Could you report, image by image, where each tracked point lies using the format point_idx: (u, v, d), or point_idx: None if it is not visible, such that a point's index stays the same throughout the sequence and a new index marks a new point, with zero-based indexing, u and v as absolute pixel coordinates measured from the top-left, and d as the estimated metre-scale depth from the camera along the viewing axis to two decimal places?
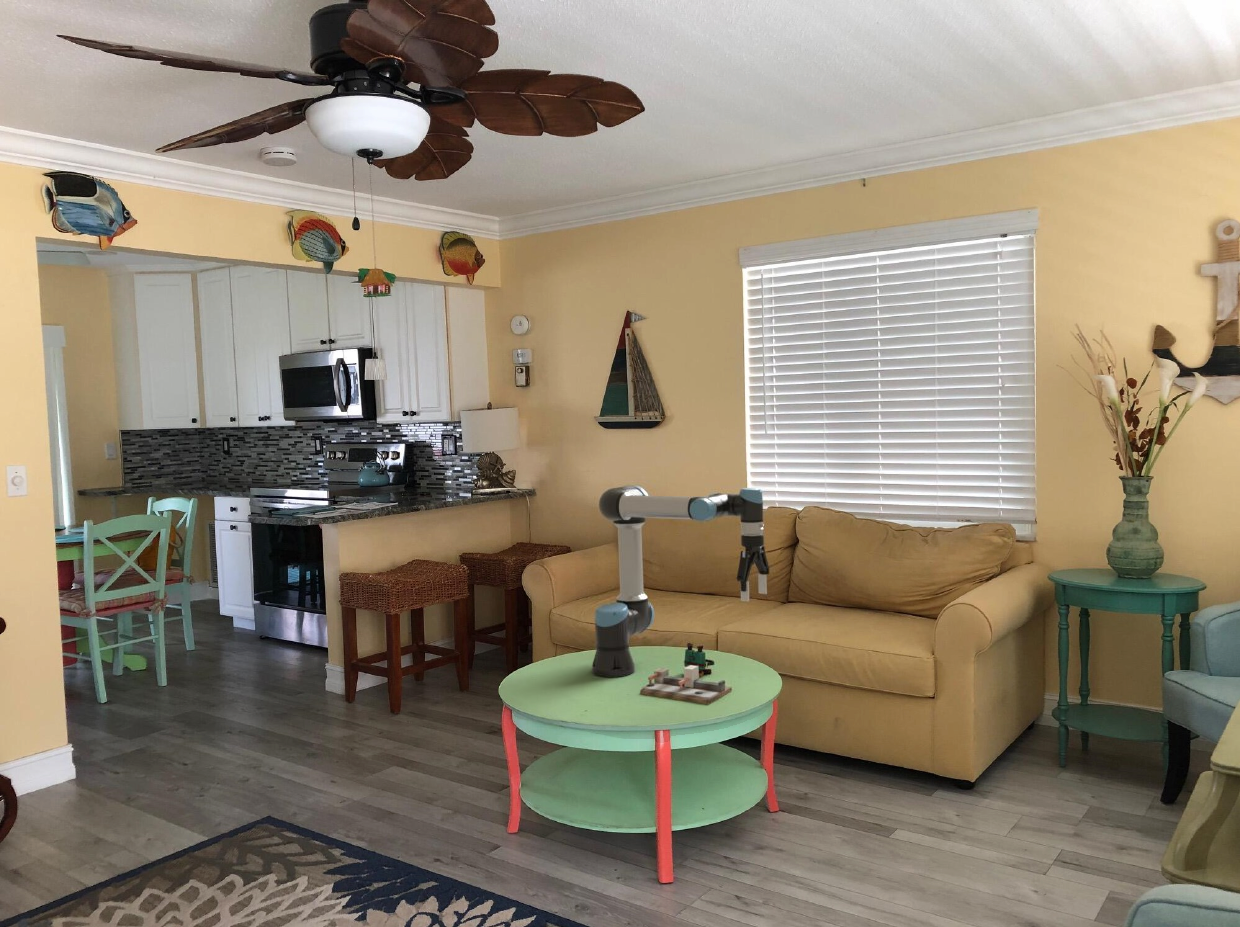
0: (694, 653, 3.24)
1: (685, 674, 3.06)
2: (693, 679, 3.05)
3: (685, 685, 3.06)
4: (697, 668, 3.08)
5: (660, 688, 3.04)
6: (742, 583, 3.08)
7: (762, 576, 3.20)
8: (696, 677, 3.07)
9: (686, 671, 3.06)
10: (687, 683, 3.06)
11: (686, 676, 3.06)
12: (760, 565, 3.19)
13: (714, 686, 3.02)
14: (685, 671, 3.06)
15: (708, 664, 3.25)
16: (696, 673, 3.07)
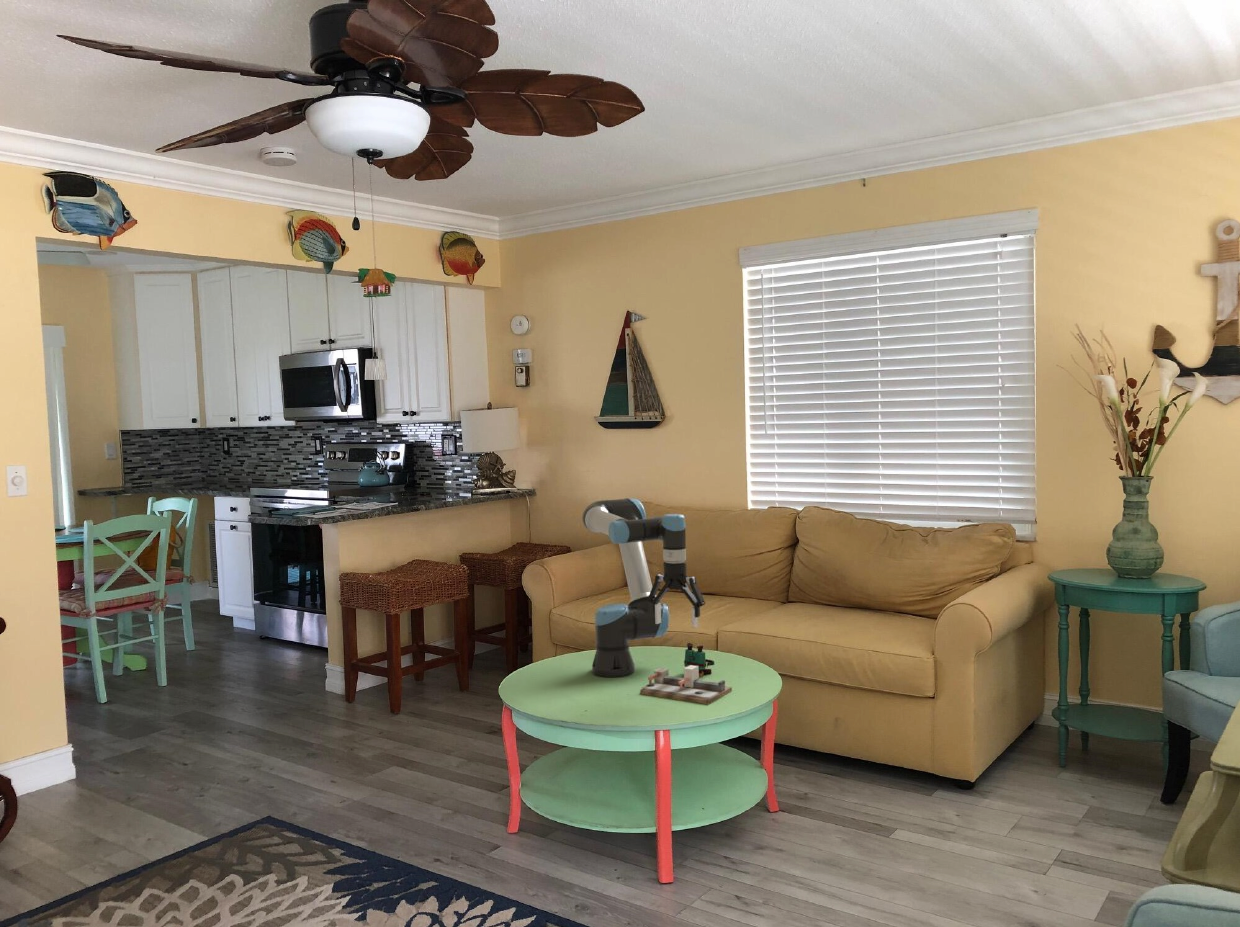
0: (694, 653, 3.24)
1: (685, 674, 3.06)
2: (693, 679, 3.05)
3: (685, 685, 3.06)
4: (697, 668, 3.08)
5: (660, 688, 3.04)
6: None
7: None
8: (696, 677, 3.07)
9: (686, 671, 3.06)
10: (687, 683, 3.06)
11: (686, 676, 3.06)
12: None
13: (714, 686, 3.02)
14: (685, 671, 3.06)
15: (708, 664, 3.25)
16: (696, 673, 3.07)
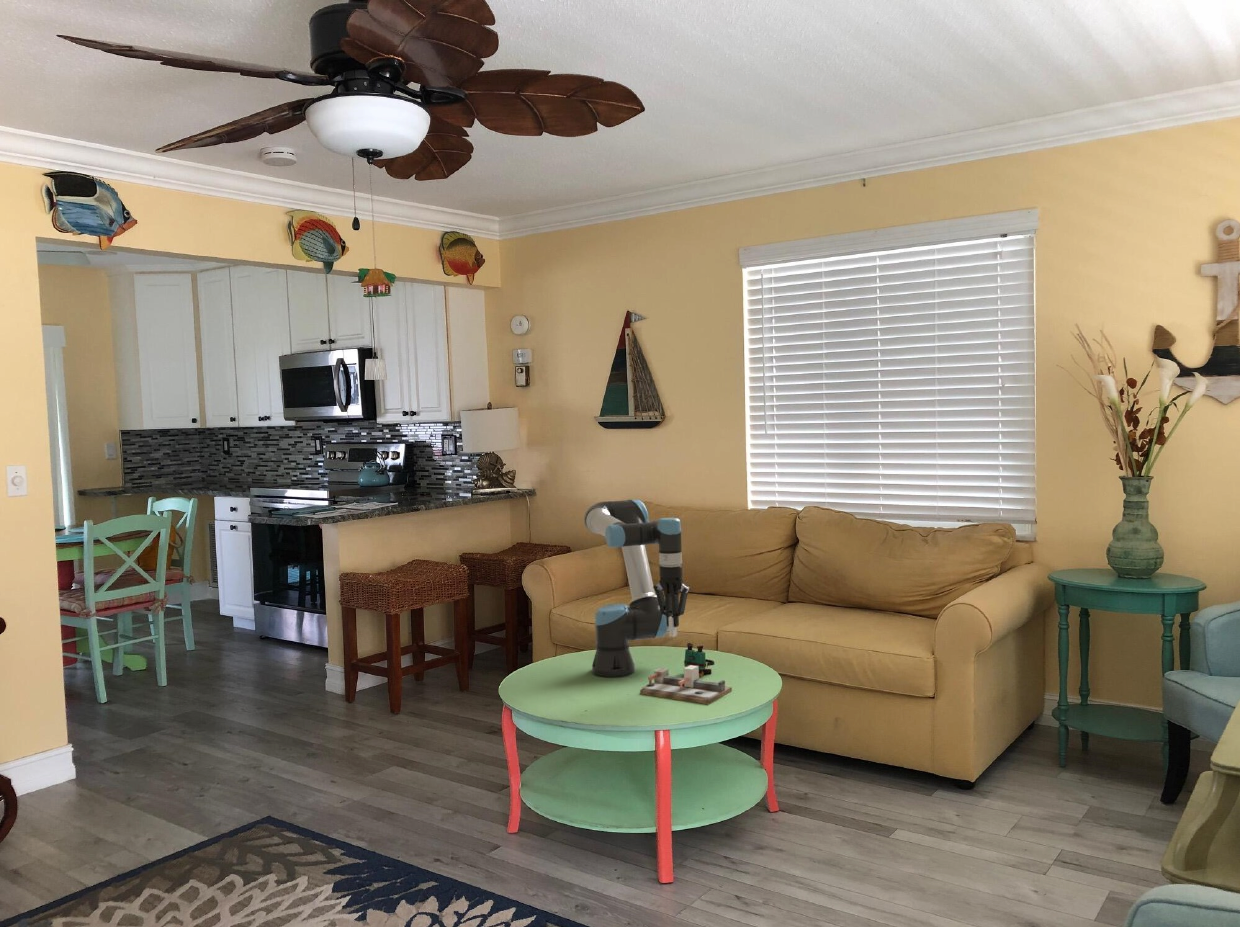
0: (694, 653, 3.24)
1: (685, 674, 3.06)
2: (693, 679, 3.05)
3: (685, 685, 3.06)
4: (697, 668, 3.08)
5: (660, 688, 3.04)
6: None
7: None
8: (696, 677, 3.07)
9: (686, 671, 3.06)
10: (687, 683, 3.06)
11: (686, 676, 3.06)
12: None
13: (714, 686, 3.02)
14: (685, 671, 3.06)
15: (708, 664, 3.25)
16: (696, 673, 3.07)
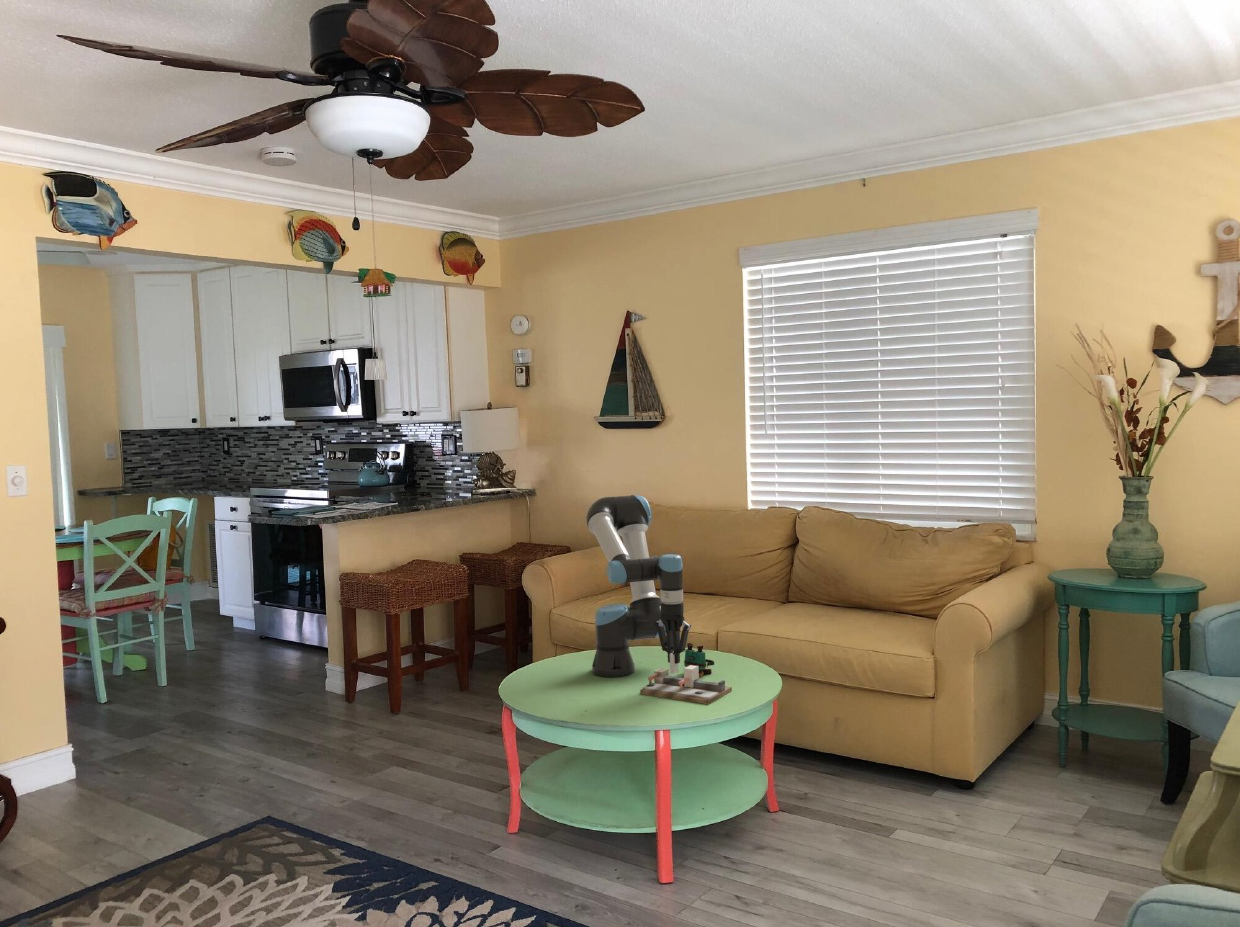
0: (694, 653, 3.24)
1: (685, 674, 3.06)
2: (693, 679, 3.05)
3: (685, 685, 3.06)
4: (697, 668, 3.08)
5: (660, 688, 3.04)
6: None
7: None
8: (696, 677, 3.07)
9: (686, 671, 3.06)
10: (687, 683, 3.06)
11: (686, 676, 3.06)
12: None
13: (714, 686, 3.02)
14: (685, 671, 3.06)
15: (708, 664, 3.25)
16: (696, 673, 3.07)
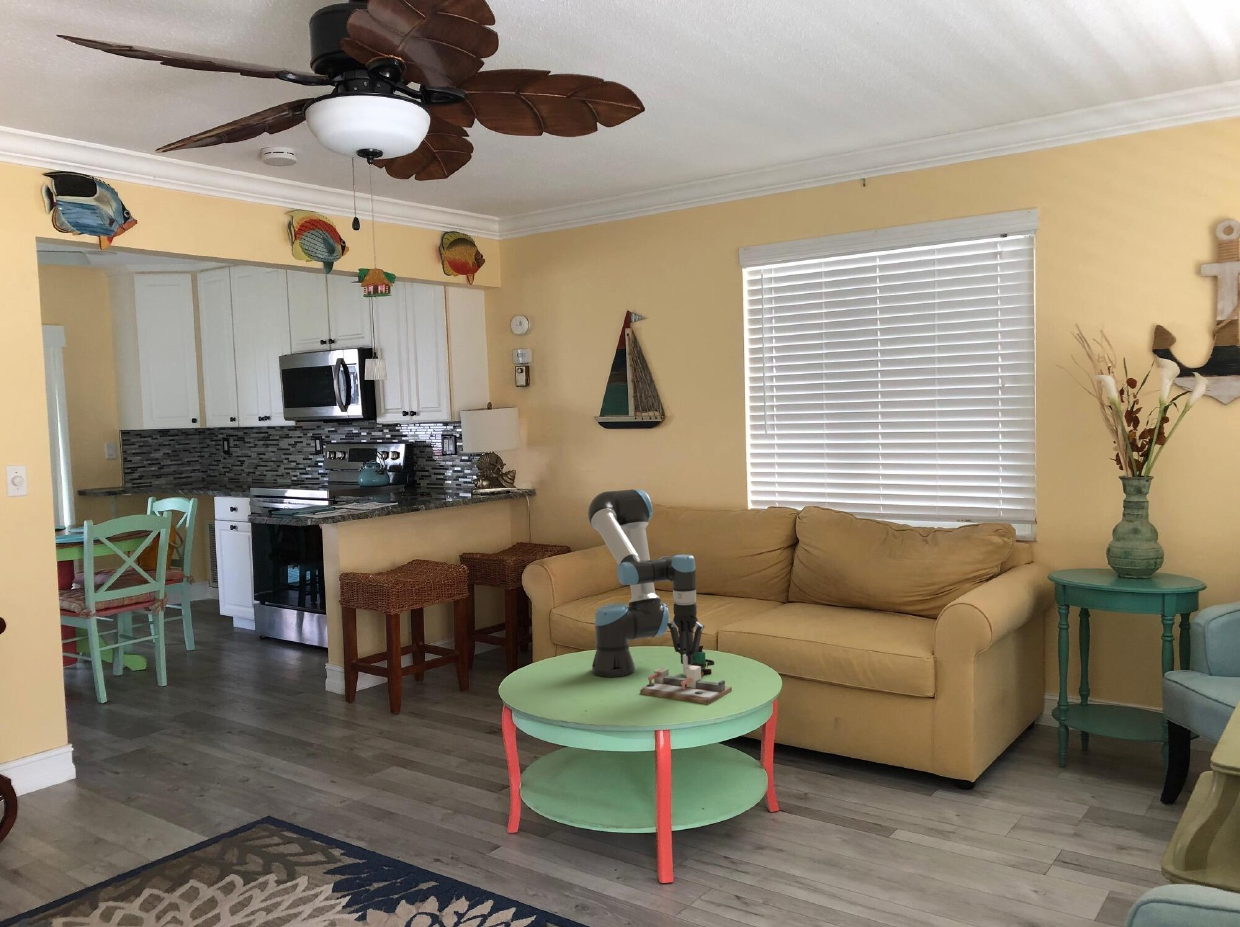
0: None
1: (687, 674, 3.06)
2: (695, 679, 3.05)
3: (687, 685, 3.06)
4: (699, 668, 3.07)
5: (660, 688, 3.04)
6: None
7: None
8: (698, 677, 3.07)
9: (688, 671, 3.05)
10: (689, 683, 3.05)
11: (688, 676, 3.05)
12: None
13: (714, 686, 3.02)
14: (687, 671, 3.05)
15: (708, 664, 3.25)
16: (698, 673, 3.07)
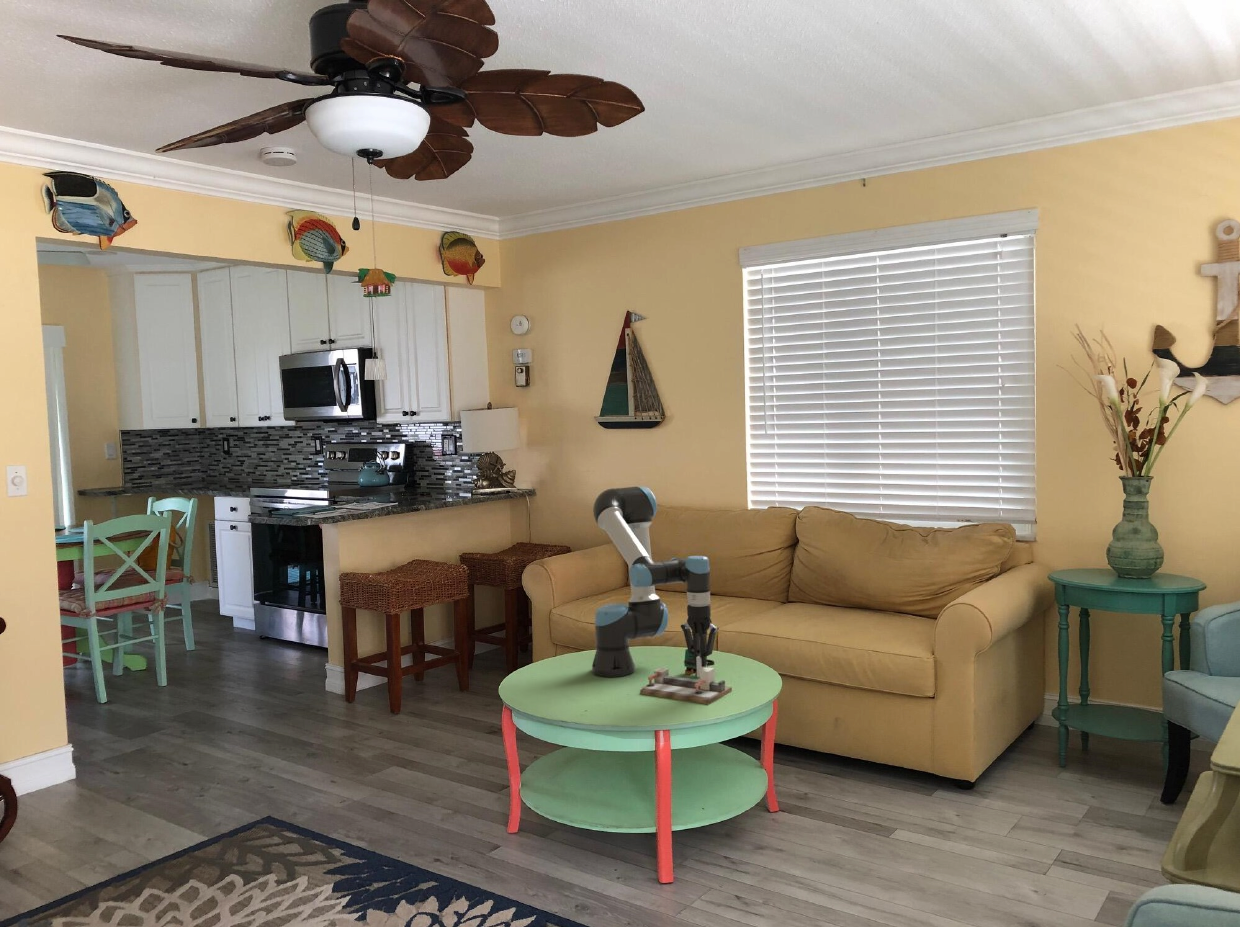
0: None
1: (701, 676, 3.03)
2: (709, 681, 3.02)
3: (701, 687, 3.03)
4: (713, 670, 3.04)
5: (660, 688, 3.04)
6: None
7: None
8: (712, 679, 3.04)
9: (702, 673, 3.02)
10: (703, 685, 3.03)
11: (702, 678, 3.03)
12: None
13: (714, 686, 3.02)
14: (701, 673, 3.03)
15: (708, 664, 3.25)
16: (712, 675, 3.04)
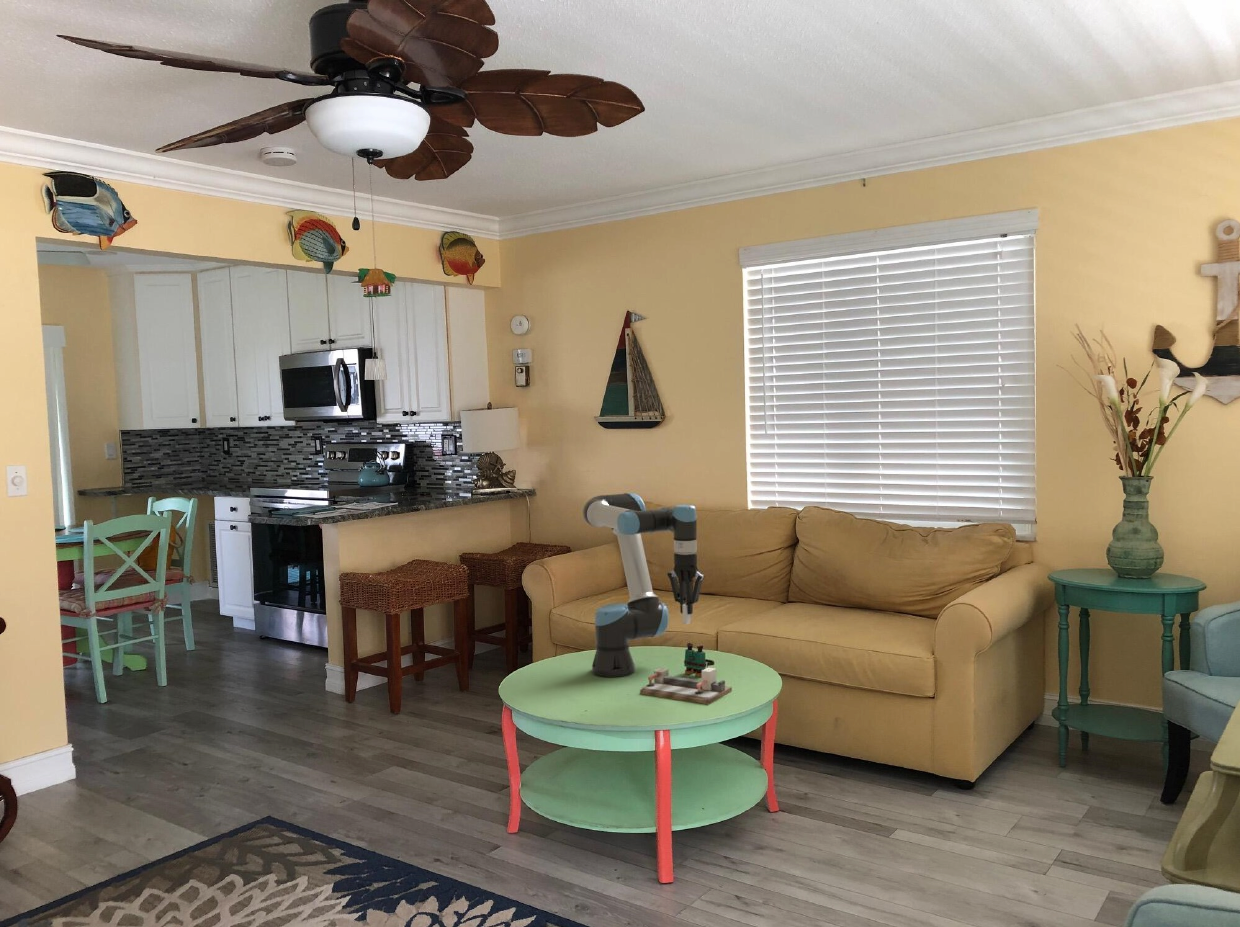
0: (694, 653, 3.24)
1: (703, 676, 3.02)
2: (711, 682, 3.02)
3: (703, 688, 3.03)
4: (715, 670, 3.04)
5: (660, 688, 3.04)
6: None
7: None
8: (714, 680, 3.04)
9: (704, 673, 3.02)
10: (705, 686, 3.02)
11: (704, 679, 3.02)
12: None
13: (714, 686, 3.02)
14: (703, 673, 3.02)
15: (708, 664, 3.25)
16: (714, 676, 3.04)
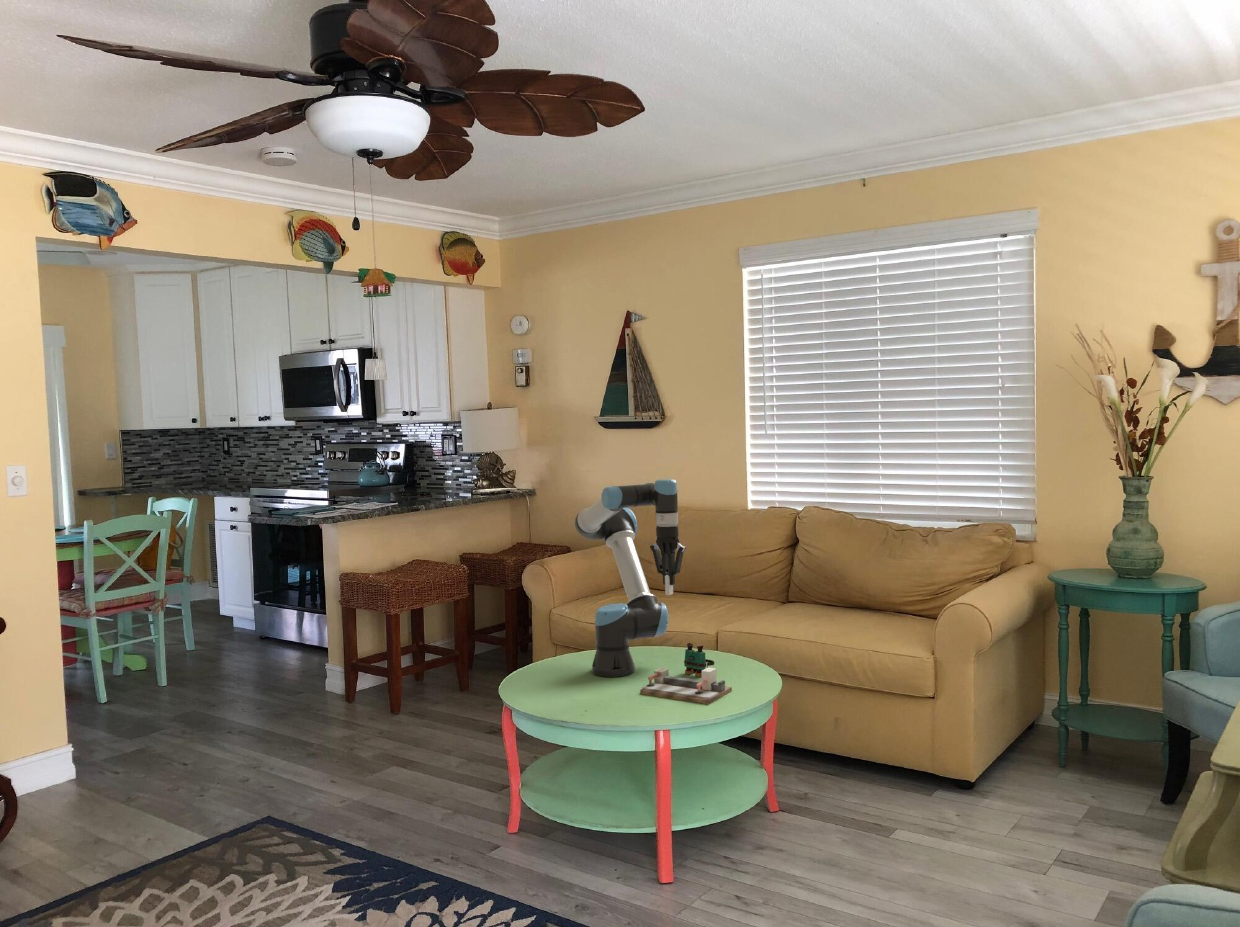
0: (694, 653, 3.24)
1: (703, 676, 3.02)
2: (711, 682, 3.02)
3: (703, 688, 3.03)
4: (715, 670, 3.04)
5: (660, 688, 3.04)
6: None
7: None
8: (714, 680, 3.04)
9: (704, 673, 3.02)
10: (705, 686, 3.02)
11: (704, 679, 3.02)
12: None
13: (714, 686, 3.02)
14: (703, 673, 3.02)
15: (708, 664, 3.25)
16: (714, 676, 3.04)
